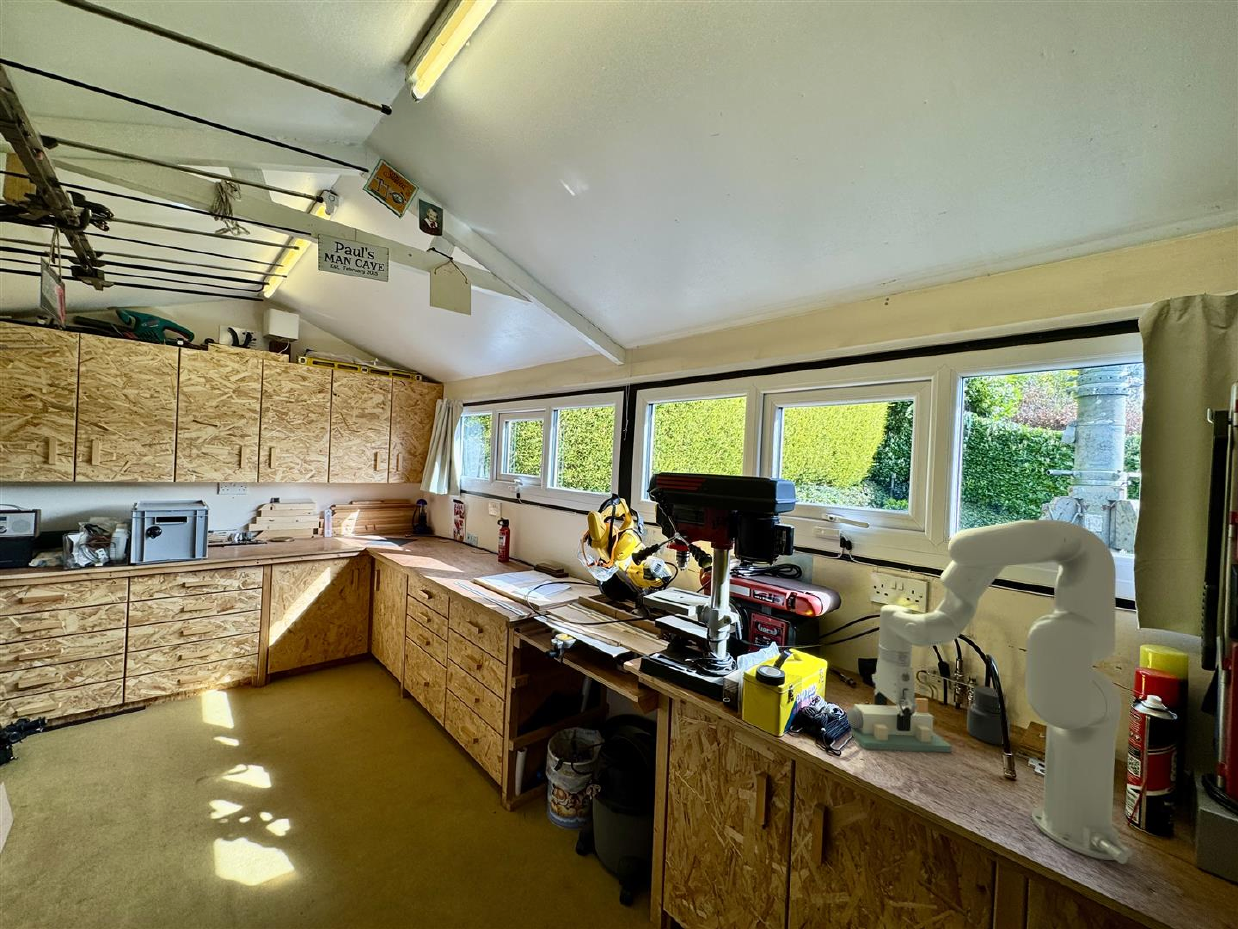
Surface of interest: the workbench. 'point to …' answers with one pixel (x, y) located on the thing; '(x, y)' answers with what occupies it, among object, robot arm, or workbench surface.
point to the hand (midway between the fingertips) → (891, 720)
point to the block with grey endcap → (888, 717)
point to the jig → (901, 740)
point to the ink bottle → (986, 716)
